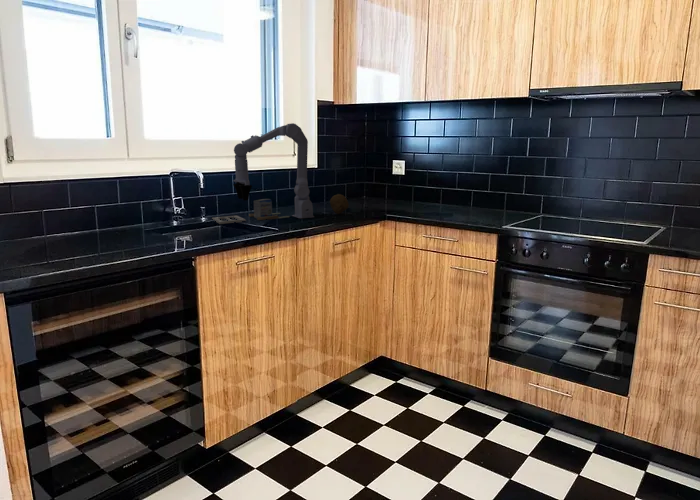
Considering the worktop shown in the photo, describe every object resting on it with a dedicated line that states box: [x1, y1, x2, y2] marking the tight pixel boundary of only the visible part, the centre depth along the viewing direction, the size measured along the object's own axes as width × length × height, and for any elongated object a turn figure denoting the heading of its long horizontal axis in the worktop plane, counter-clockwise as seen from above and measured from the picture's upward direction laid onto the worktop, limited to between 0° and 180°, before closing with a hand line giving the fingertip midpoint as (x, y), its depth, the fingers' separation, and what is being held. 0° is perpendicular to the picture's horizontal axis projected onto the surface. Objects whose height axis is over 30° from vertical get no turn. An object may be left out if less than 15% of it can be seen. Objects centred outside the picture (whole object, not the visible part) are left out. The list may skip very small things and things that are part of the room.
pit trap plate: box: [211, 215, 247, 225], centre depth 231 cm, size 13×12×1 cm
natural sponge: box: [329, 193, 350, 215], centre depth 247 cm, size 9×9×10 cm
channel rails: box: [248, 213, 279, 221], centre depth 239 cm, size 13×10×1 cm
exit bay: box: [272, 212, 291, 219], centre depth 244 cm, size 13×6×1 cm, turn 31°
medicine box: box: [253, 198, 273, 219], centre depth 239 cm, size 8×4×9 cm, turn 143°
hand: (243, 199), depth 233 cm, fingers open, 7 cm apart
